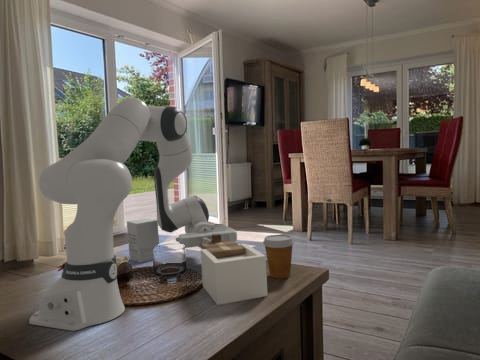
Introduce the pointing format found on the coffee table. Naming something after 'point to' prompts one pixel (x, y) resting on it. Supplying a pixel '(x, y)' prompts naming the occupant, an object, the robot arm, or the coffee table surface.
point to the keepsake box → (234, 276)
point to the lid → (222, 247)
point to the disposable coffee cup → (279, 255)
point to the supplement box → (142, 239)
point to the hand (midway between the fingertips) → (213, 242)
